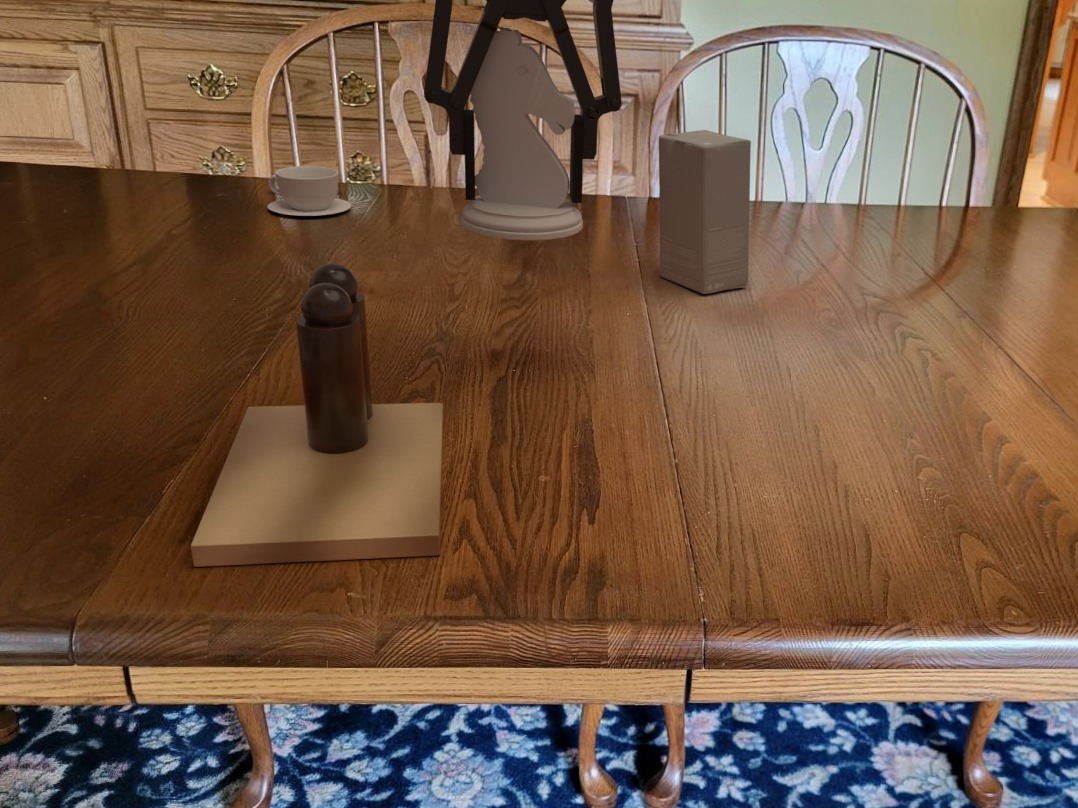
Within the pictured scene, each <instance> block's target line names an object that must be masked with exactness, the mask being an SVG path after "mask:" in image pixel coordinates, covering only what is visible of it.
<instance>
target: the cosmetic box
mask: <svg viewBox="0 0 1078 808" xmlns="http://www.w3.org/2000/svg"><path fill="white" fill-rule="evenodd" d="M751 145H752V141H751V140H750V139H746V138H741V137H736V136H731V135H727V134H723V133H718V132H716V131H715V132H714V131H711V130H707V129H701V130H693V131H691V130H690V131H684V132H675V133H668V134H660V135H659V136H658V183H659V185H658V186H659V190H658V191H659V193H658V194H659V195H658V196H659V197H658V198H659V277H661V278H663V279H666V280H668V281H670V282H673V283H675V284H677V285H680V286H683V287H684V288H688V289H690V290H692V291H695V292H698V293H700V294H702V295H707V294H713V293H717V292H723V291H727V290H735V289H741V288H747V286H748V284H749V249H750V247H749V246H750V200H751V199H750V194H751V148H752V147H751Z"/></svg>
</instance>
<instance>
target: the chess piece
mask: <svg viewBox="0 0 1078 808" xmlns="http://www.w3.org/2000/svg"><path fill="white" fill-rule="evenodd" d="M469 102H470V104H472V110H473V111H474V120H475V121H476V125H477V128H478V130H479V132H480V137H481V143H482V145H483V149H482V153H483V156H482V165H481V167H480V169H479V170H478V173H477V174H475V188H476V189H477V192H478V195H477V196H475V200H469V203H468V204H467V205H465V206H464V208H463V209H462V214H461V218H460V224H461V226H462V227H463V228H464V229H465V230H467V231H469V232H471V233H473V234H476V235H480V236H483V237H488V238H494V239H501V240H509V241H550V240H556V239H563V238H567V237H571V236H574V235H576V234H579V232H581V231H582V230H583V228H584V220H583V218H582V212H581V211H580V210H579V209H578V208H576V207H575V203H572V200H570V199H568V197H569V191H570V176H569V174H568V171H567V169H566V167H565V166H564V164H563V163H562V161H561V159H560V158H559V157H558V156H557V155H558V154H556V152H555V151H554V149H553V148H552V147H551V145H550V144H549V142H548V140H546V139H545V137H544V136H543V135H542V133H541V131H539V130H540V129H538V127H537V126H536V124H535V123H534V121H533V120H532V118H531V116H533V117H536V118H538V119H542V120H544V121H545V123H546V124H547V125H548V128H549V129H550V130H551V132H552V133H553V134H554V135H557V136H559V135H561V136H562V135H563V134H564V133H565V132H566V131H568V130H571V127H572V125H573V124H574V114H576V113H575V108H574V107H575V101H574V100H573V99H572V98H571V97H569V96H566V95H564V94H563V93H562V92H561V91H560V90H559V89H558V87H557V86H556V85H555V83H554V81H553V79H552V77H551V75H550V73H549V71H548V68H547V66H546V65H545V63H544V60H543V59H542V57H541V55H540V53H539V52H538V51H537V50H536V49H535V48H534V47H532V46H531V45H528V44H523V38H522V34H521V32H520V30H519V29H511V28H510V27H509V28H508V27H505V28H501V29H500V30H496V31H495V34H494V36H493V39H492V41H491V44H490V46H489V49H488V51H487V53H486V56H485V58H484V61H483V63H482V66H481V68H480V71H479V73H478V76H477V78H476V81H475V83H474V86H473V88H472V91H471V93H470V97H469ZM530 115H531V116H530Z"/></svg>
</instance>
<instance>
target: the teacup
mask: <svg viewBox="0 0 1078 808" xmlns="http://www.w3.org/2000/svg"><path fill="white" fill-rule="evenodd" d="M339 174H340V173H339V170H337V169H335V168H332V167H327V166H320V165H295V166H287V167H282V168H279V169H277V170H276V171H275V173H274V174H273V175H271V176H270V177H269V178H268V181H267V184H268V188H269V189H270V191H271V192H272V193H274V194H275V195H277V196H280V197H282V198H281V199H277V200H274V201H271V202H269V203H268V204H267V209H268V210H270V211H272V212H274V213H277V214H281V215H287V216H297V217H298V216H299V217H315V216H316V217H317V216H327V215H328V216H329V215H335V214H339V213H342V212H345V211H348V210H350V209H351V208H352V203H351V202H349V201H347V200H345V199H341V198H336V197H337V194H338V189H339ZM274 180H275V181H276V182H277V183H276V184H277V187H278V188H277V187H276V185H275V183H274Z"/></svg>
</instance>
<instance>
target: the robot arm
mask: <svg viewBox="0 0 1078 808" xmlns="http://www.w3.org/2000/svg"><path fill="white" fill-rule="evenodd" d="M566 2H567V0H485V3H486V4H485V6H484V7H483V11H482V13H481V15H480V18H479V21H478V24H477V27H476V29H475V32H474V34H473V36H472V38H471V41H470V44H469V46H468V49H467V51H466V54H465V56H464V59H463V61H462V64H461V66H460V69H459V72H458V75H457V77H456V79H455V82H454V84H453V87H452V89H447V88H445V87H443V80H444V79H443V78H444V71H445V63H446V57H447V56H446V55H447V48H448V42H449V34H450V25H451V17H452V11H453V0H435V4H434V12H433V18H432V19H433V20H432V28H431V33H430V35H431V36H430V42H429V52H428V60H427V65H426V66H427V67H426V73H425V74H426V75H425V82H424V92H423V97H424V99H425V101H426V102H427V103H429V104H433V105H436V106H438V107H440V108H443V109H444V110H445V111H446V112H447V115H448V140H449V141H448V142H449V144H448V145H449V147H448V148H449V150H450V152H451V155H452V156H453V155H454V156H464V190H465V191H464V192H465V193H464V194H465V195H464V196H465V201H471V200H475V197H476V186H475V175H476V155H475V154H476V153H475V152H476V151H475V149H476V148H475V142H476V141H475V113H474V111H473V109H466V106H467V103H468V100H469V99H470V96H471V94H470V93H471V91H472V88H473V86H474V83H475V81H476V78H477V76H478V73H479V71H480V68H481V66H482V63H483V61H484V58H485V56H486V53H487V51H488V49H489V46H490V44H491V41H492V39H493V36H494V34H495V32H496V31H498V30H497V29H498V27H499V25H500V23H501V20H502V19H503V20H512V21H515V20H519V19H524V18H525V19H529V20H531V21H534V22H547V23H548V25H549V28H550V31H551V33H552V36H553V38H554V41H555V43H556V47H557V50H558V52H559V55H560V57H561V60H562V62H563V66H564V68H565V70H566V73H567V76H568V79H569V81H570V84H571V87H572V89H573V92H574V94H575V97H576V100H577V102H578V106H579V108H580V114H576V113H575V114H574V124H573V125H572V127H571V128H570V147H569V148H570V151H569V193H568V196H569V198H570V201H571V202H572V203H573V204H583V176H584V175H583V172H584V171H583V170H584V169H583V168H584V165H583V164H584V160H595V159H596V156H597V153H598V151H597V150H598V123H599V120H600V118H601V117H602V116H604V115H606V114H609V113H612V112H614V113H615V112H618V111H620V110H621V108H622V105H623V102H622V93H621V83H620V74H619V65H618V56H617V55H618V54H617V47H616V39H615V29H614V21H613V12H612V11H613V10H612V9H613V5H614V4H613V3H614V0H588V2H590V3H591V4H592V19H593V26H594V27H593V28H594V35H595V44H596V53H597V61H598V69H599V78H600V87H601V94H600V95H598V96H595V95H594V93H593V91H592V87H591V84H590V82H589V80H588V77H587V74H586V71H585V69H584V66H583V63H582V61H581V57H580V54H579V52H578V49H577V46H576V44H575V41H574V39H573V36H572V35H573V34H572V33H571V29H570V27H569V23H568V21H567V19H566V16H565V12H564V10H563V6H564V4H565V3H566Z"/></svg>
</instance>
